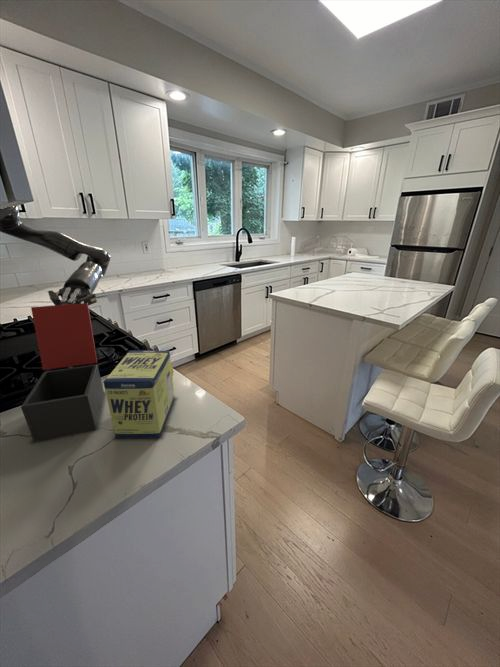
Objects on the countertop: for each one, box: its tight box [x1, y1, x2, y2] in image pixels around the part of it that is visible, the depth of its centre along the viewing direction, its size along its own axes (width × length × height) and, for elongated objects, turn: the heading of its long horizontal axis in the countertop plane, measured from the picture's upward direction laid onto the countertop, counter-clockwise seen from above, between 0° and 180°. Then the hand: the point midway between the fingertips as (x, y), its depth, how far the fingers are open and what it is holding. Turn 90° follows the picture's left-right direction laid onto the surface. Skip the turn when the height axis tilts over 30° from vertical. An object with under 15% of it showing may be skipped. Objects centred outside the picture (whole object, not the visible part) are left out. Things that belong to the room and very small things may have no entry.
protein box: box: [102, 350, 176, 439], centre depth 68 cm, size 10×16×16 cm
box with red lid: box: [20, 363, 105, 443], centre depth 69 cm, size 16×13×10 cm
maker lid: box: [30, 302, 98, 371], centre depth 73 cm, size 16×13×1 cm
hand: (61, 313), depth 74 cm, fingers closed
